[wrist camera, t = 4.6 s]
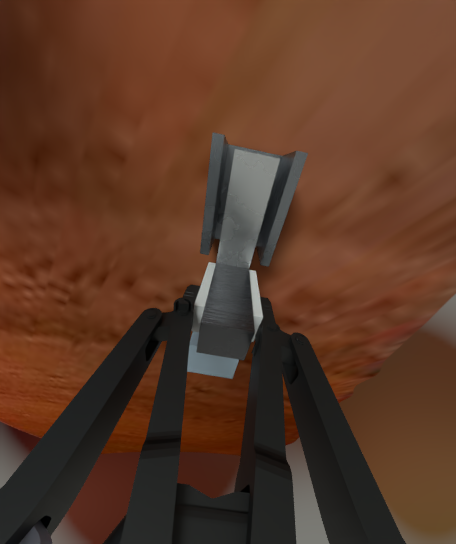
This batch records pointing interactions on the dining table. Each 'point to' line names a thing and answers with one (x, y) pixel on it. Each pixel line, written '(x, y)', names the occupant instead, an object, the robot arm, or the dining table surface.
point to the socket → (209, 361)
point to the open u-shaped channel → (277, 201)
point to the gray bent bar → (237, 258)
